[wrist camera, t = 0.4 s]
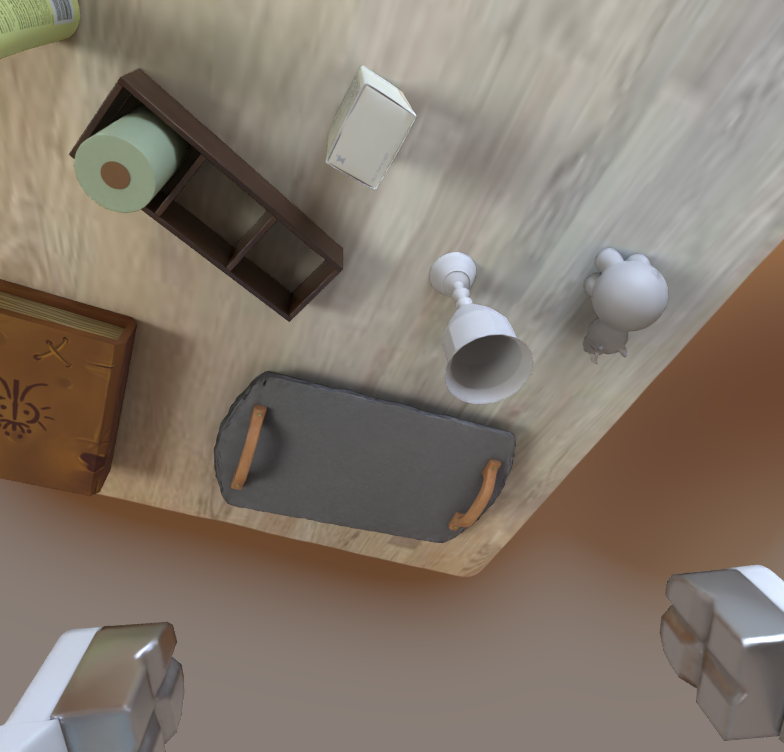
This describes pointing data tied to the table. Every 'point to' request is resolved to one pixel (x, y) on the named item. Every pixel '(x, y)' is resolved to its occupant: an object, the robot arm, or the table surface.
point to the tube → (35, 23)
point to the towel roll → (129, 161)
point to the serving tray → (357, 460)
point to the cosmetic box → (369, 129)
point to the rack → (245, 177)
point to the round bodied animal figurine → (622, 301)
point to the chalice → (477, 339)
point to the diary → (60, 388)
